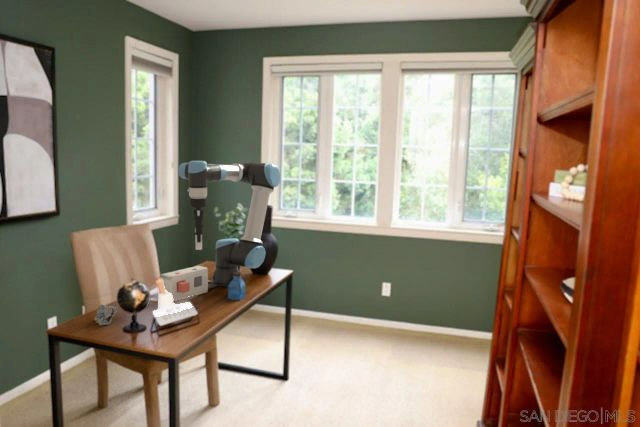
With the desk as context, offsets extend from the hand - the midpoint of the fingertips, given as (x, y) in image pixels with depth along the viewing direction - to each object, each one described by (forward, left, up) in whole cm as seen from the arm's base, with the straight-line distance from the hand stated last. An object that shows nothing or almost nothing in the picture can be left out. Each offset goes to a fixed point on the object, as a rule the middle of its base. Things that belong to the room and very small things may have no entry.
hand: (198, 245), depth 201 cm
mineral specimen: (+27, -24, -28) cm, 46 cm away
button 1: (-15, -11, -23) cm, 30 cm away
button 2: (-5, -11, -23) cm, 26 cm away
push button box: (-15, -12, -28) cm, 33 cm away
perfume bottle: (-18, +10, -28) cm, 35 cm away
